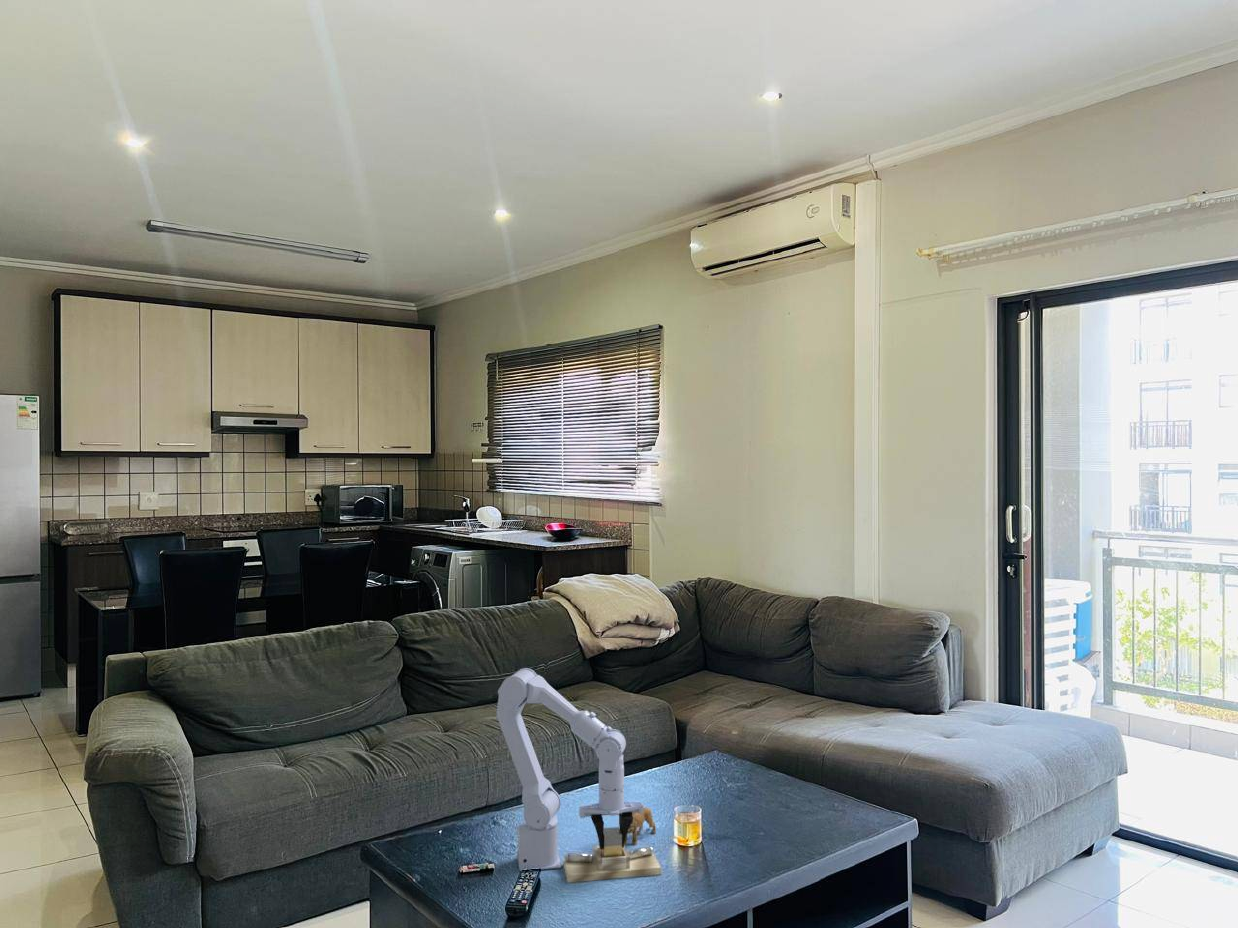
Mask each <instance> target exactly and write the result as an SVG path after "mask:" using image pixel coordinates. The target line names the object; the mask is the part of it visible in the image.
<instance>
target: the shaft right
mask: <svg viewBox="0 0 1238 928" xmlns="http://www.w3.org/2000/svg"><path fill="white" fill-rule="evenodd" d="M654 850H655V848H653V847H652V846H651V845H650V846H646V847H640V848H635V849H632V850H627V852H628V854H629V856H630V859H634V858H638V857H643V856H648V855H652V854H653V853H654Z"/></svg>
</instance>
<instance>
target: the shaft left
mask: <svg viewBox="0 0 1238 928" xmlns="http://www.w3.org/2000/svg"><path fill="white" fill-rule="evenodd" d="M563 858H564V859H565V861H567V862H592V861H593V860H594V856H593V854H592V853H581V852H580V853H573V852H567V853H565V854H564V856H563Z"/></svg>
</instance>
